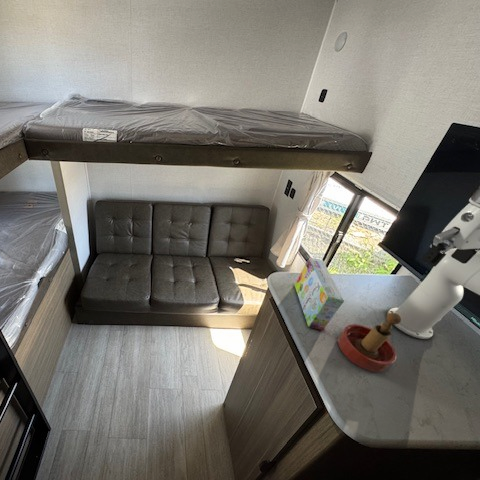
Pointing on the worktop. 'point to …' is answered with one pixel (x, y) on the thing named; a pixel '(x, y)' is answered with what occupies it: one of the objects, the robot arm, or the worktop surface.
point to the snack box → (317, 294)
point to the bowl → (345, 344)
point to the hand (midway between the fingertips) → (442, 261)
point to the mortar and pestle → (376, 337)
